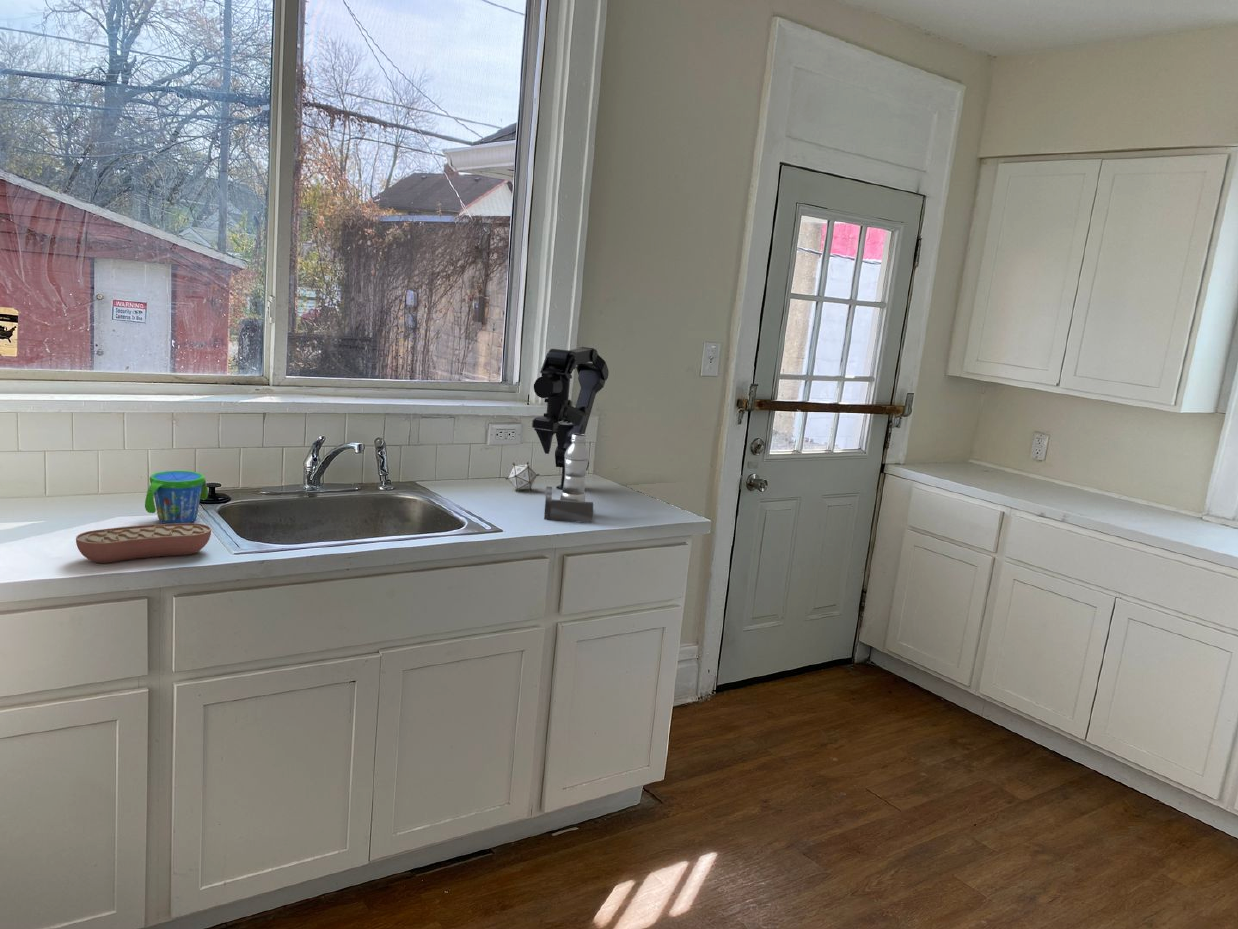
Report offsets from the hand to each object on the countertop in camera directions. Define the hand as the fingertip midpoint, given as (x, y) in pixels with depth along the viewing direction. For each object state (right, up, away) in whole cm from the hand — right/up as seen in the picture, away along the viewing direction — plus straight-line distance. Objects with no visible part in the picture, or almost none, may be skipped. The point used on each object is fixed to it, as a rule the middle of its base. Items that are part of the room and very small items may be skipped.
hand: (553, 451), depth 248 cm
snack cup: (-79, -16, -52) cm, 96 cm away
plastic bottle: (+6, -16, -15) cm, 22 cm away
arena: (+5, -16, -14) cm, 22 cm away
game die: (-10, -11, +8) cm, 17 cm away
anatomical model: (-73, -22, -76) cm, 108 cm away
